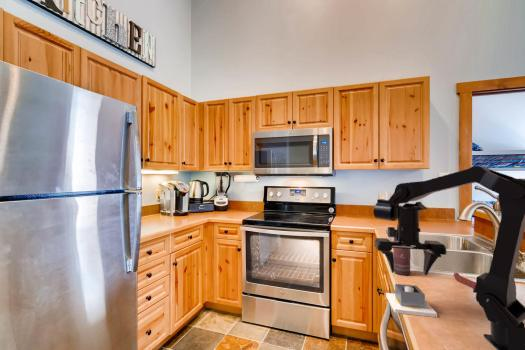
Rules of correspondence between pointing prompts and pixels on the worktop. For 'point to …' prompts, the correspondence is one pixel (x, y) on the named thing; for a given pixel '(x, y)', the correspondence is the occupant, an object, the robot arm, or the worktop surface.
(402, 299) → the grey hollow square box
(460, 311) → the worktop surface
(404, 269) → the can
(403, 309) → the post base
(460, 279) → the pliers
